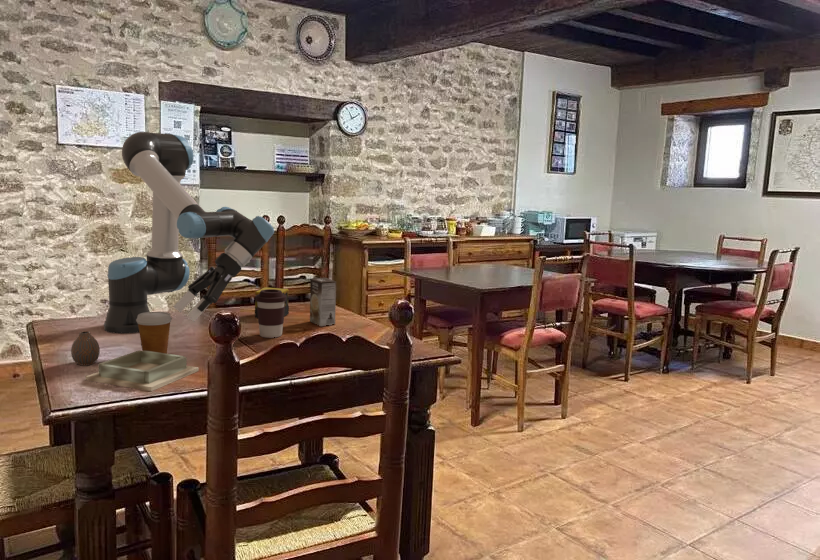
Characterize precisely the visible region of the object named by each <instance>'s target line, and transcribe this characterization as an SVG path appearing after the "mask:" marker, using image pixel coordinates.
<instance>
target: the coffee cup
mask: <svg viewBox="0 0 820 560" xmlns="http://www.w3.org/2000/svg"><path fill="white" fill-rule="evenodd" d="M260 290H261V289H260ZM254 297H255V298H254V299H255V300H256V301H257V303H258V306H257V313H258V318H257V323H258V328H259V329H258V331H259V332H258V333H259V336H260V337H262V338H268V339H273V338H274V337H275V338H279V337H281V336H282V335H283V328H284V327H283V326H284V322H285V321H284V319H285V317H284V311H285V306H284V302H285V301H286V295H284V294H283V293H282V291H281V290H276V289H266V290H261V291H260V294H258V295H255V296H254Z"/></svg>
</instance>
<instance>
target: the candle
mask: <svg viewBox="0 0 820 560" xmlns="http://www.w3.org/2000/svg"><path fill="white" fill-rule="evenodd" d="M266 289H276V290H281V291H282V293H283V294H284V295H286V301H285V302H284V306H285V311H284V318H285V317H286V316H288V315H289V313H290V312H289V310H290V306H289V298H290V297H289V291H290V290H289V289H288V288H278V287H263V288H261V289H259V290H256V291H255V294H254V295H255V296H256V295H258V294H260V291H261V290H266ZM257 306H258V303H257V301H256V300H255V304H254V317H255V318H256V319H258V313H257Z"/></svg>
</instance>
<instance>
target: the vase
mask: <svg viewBox="0 0 820 560" xmlns="http://www.w3.org/2000/svg"><path fill="white" fill-rule="evenodd" d="M100 351H101V349H100V344H99V342H98V340H97V339H96V338H95V337H94V336H93V335H92V334H91V332H90V330H89V331H88V330H83V331H80V332H79V334H78V335H77V337H76V338H75V339H74V341H73V343H72V344H71V349H70V354H71V358H72V360H73V361H74V363H75V364H77V365H79V366H90V365H94V364H95V363H96V362H97V361H98V359H99V357H100Z"/></svg>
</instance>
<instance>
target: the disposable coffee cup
mask: <svg viewBox="0 0 820 560" xmlns="http://www.w3.org/2000/svg"><path fill="white" fill-rule="evenodd" d="M172 319H173V317H172V316H171V313H170V312H167V311H150V312H145V313H141V314H138V317H137V319H136V321H137V323H138V327H139V332H138V333H139V338H140V343H141V344H140V345H141V349H142V350H141V351H144V350H145V351H152V352H159V353H166V354H168V347H169V338H170V330H171V322H172Z"/></svg>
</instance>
